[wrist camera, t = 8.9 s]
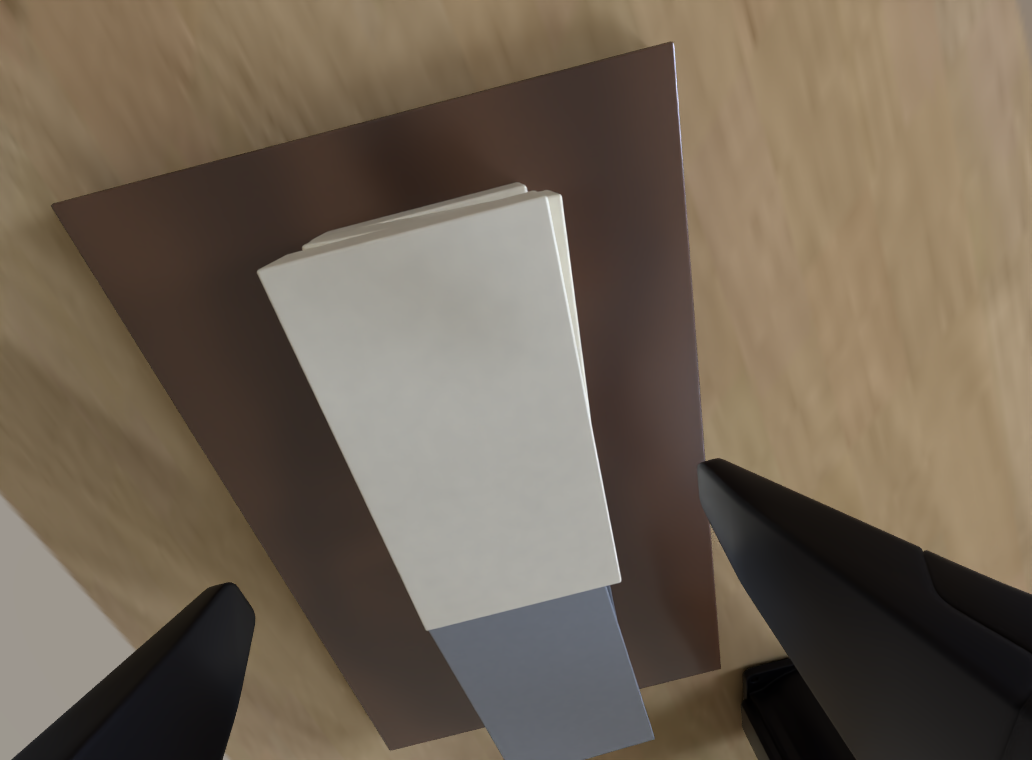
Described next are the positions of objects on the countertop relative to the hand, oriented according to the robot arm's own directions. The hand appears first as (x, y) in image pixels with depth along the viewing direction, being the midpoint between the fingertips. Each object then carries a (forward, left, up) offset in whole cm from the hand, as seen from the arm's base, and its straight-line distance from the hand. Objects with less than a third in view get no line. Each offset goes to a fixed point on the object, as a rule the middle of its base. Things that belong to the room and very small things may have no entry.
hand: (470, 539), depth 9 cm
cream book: (0, 0, -5) cm, 5 cm away
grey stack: (0, +13, -8) cm, 15 cm away
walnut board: (+1, +6, -10) cm, 12 cm away
